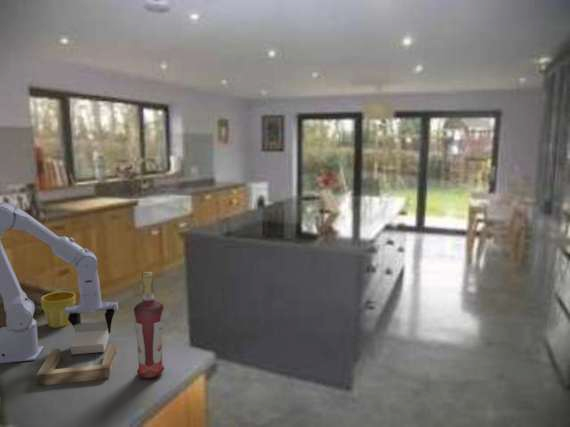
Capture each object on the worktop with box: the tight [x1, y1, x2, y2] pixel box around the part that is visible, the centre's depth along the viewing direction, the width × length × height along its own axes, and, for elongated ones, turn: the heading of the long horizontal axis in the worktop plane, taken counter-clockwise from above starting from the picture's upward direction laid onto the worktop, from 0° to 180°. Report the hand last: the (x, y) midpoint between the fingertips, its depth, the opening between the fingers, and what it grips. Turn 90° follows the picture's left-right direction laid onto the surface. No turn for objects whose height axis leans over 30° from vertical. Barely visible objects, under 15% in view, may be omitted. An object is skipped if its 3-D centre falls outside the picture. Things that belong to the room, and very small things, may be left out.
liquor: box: [133, 271, 165, 380], centre depth 113 cm, size 7×7×28 cm
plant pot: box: [40, 291, 77, 329], centre depth 145 cm, size 10×10×10 cm
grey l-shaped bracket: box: [69, 320, 110, 355], centre depth 127 cm, size 9×7×6 cm
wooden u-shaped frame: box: [36, 343, 118, 387], centre depth 117 cm, size 17×14×3 cm
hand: (94, 334), depth 132 cm, fingers open, 7 cm apart
